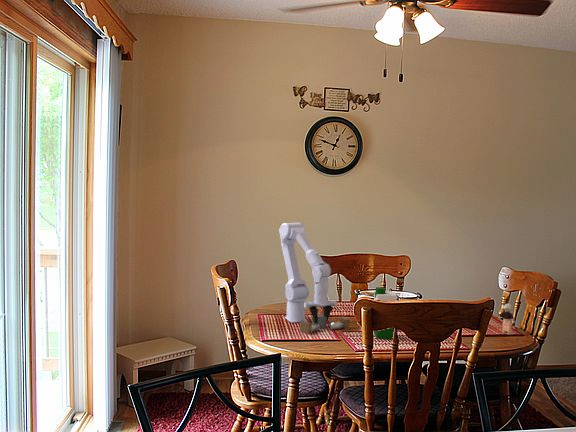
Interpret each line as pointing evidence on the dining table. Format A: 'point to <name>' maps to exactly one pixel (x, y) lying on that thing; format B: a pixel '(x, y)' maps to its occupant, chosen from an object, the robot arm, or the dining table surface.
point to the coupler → (321, 320)
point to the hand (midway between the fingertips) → (320, 323)
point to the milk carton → (384, 296)
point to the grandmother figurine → (507, 319)
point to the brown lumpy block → (308, 327)
